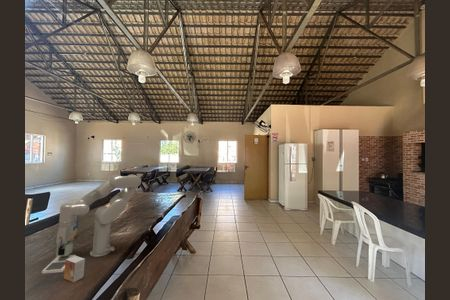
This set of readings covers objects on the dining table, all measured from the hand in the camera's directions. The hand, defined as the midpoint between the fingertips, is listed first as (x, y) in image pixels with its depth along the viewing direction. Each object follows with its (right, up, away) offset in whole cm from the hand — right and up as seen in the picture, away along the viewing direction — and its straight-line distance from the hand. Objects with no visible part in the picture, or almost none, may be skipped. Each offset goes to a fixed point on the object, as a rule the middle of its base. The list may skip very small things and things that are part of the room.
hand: (64, 252), depth 131 cm
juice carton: (-20, -6, +28) cm, 35 cm away
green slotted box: (0, -1, 0) cm, 1 cm away
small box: (+18, -6, -17) cm, 26 cm away
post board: (+1, -5, -5) cm, 7 cm away
